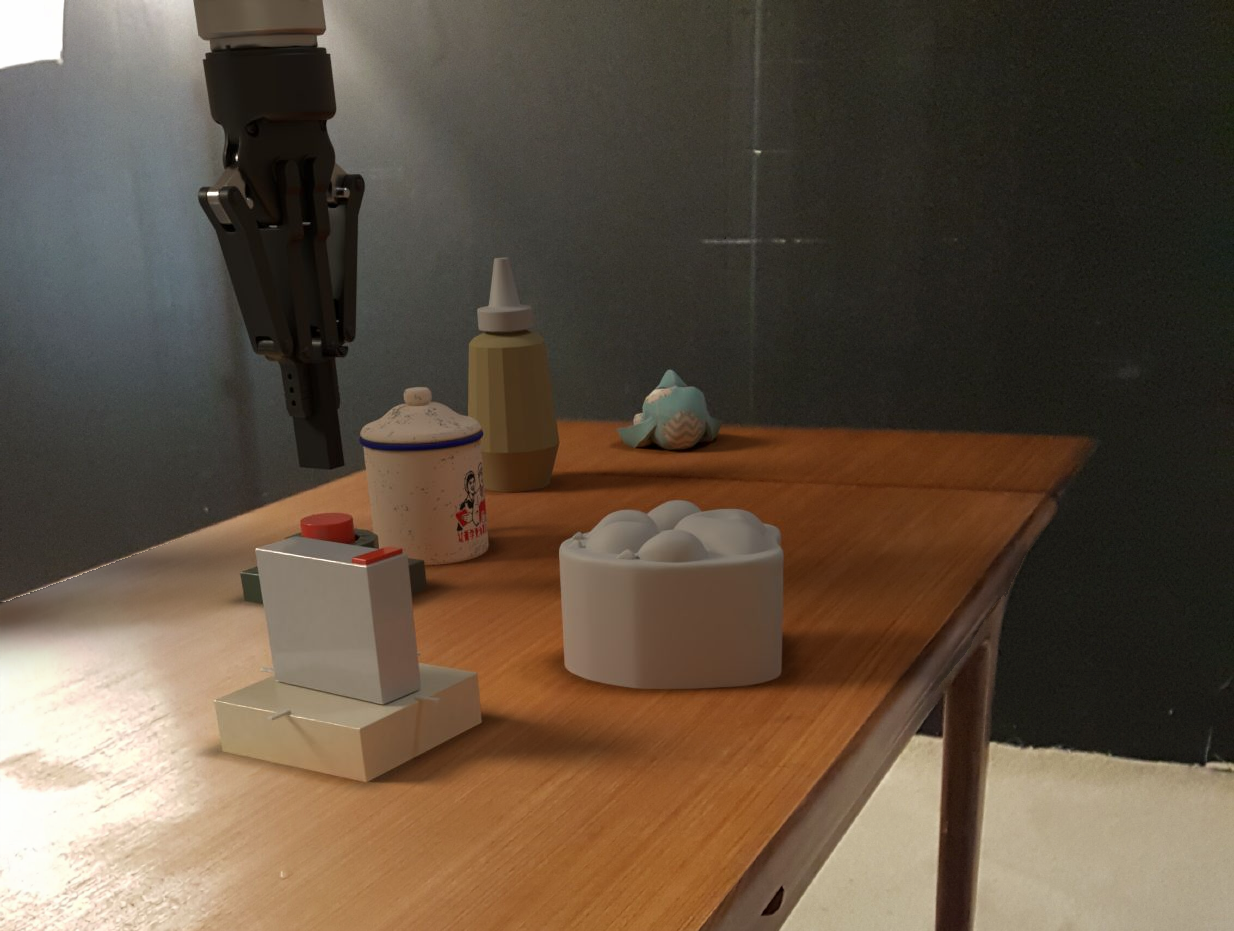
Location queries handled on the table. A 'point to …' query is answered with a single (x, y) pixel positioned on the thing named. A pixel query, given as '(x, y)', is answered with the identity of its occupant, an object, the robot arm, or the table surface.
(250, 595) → the button box
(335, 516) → the red button
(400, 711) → the panel
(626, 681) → the lumpy-topped squat cylinder
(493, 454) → the squeeze bottle
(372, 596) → the tap lever
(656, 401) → the stuffed animal
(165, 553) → the table surface
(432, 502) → the teacup with lid
